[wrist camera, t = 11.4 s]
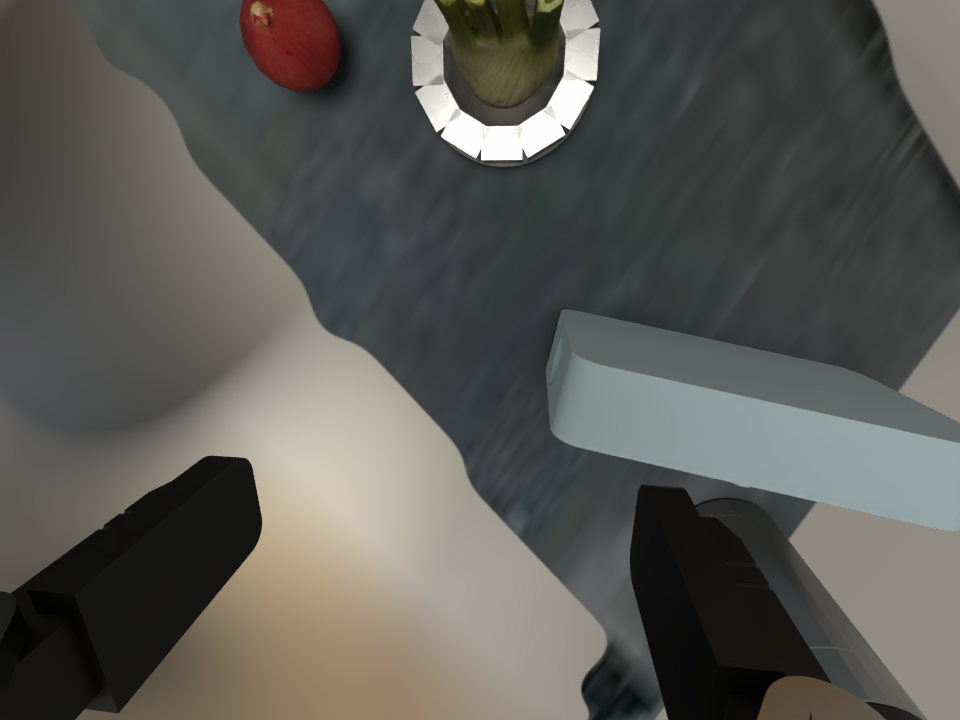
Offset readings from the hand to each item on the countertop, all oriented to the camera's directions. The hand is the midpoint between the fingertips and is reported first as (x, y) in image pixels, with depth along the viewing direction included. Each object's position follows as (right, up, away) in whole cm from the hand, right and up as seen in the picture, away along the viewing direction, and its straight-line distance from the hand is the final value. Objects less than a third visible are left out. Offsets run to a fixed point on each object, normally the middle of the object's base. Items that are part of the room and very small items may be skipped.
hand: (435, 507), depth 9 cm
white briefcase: (+18, +3, +27) cm, 33 cm away
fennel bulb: (+3, +22, +21) cm, 31 cm away
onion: (-11, +25, +23) cm, 35 cm away
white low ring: (+3, +23, +22) cm, 32 cm away
